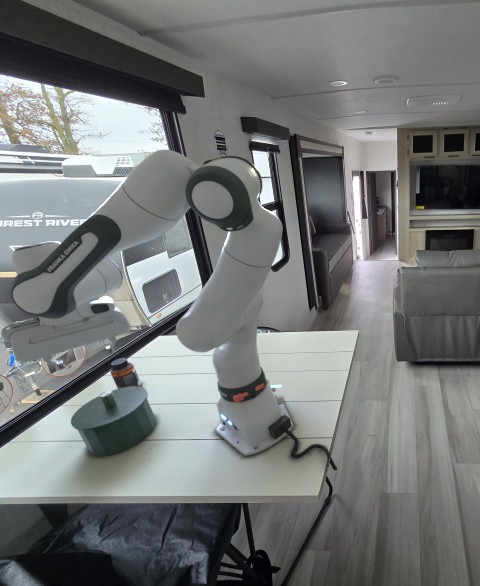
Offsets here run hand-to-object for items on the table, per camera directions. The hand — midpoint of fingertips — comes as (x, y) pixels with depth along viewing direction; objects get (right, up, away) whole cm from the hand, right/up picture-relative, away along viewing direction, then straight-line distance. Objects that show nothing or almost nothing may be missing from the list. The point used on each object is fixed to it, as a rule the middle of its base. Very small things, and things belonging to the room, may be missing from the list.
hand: (87, 360), depth 78 cm
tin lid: (+1, -14, +6) cm, 15 cm away
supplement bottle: (-12, -16, +27) cm, 34 cm away
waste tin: (+1, -23, +9) cm, 25 cm away
